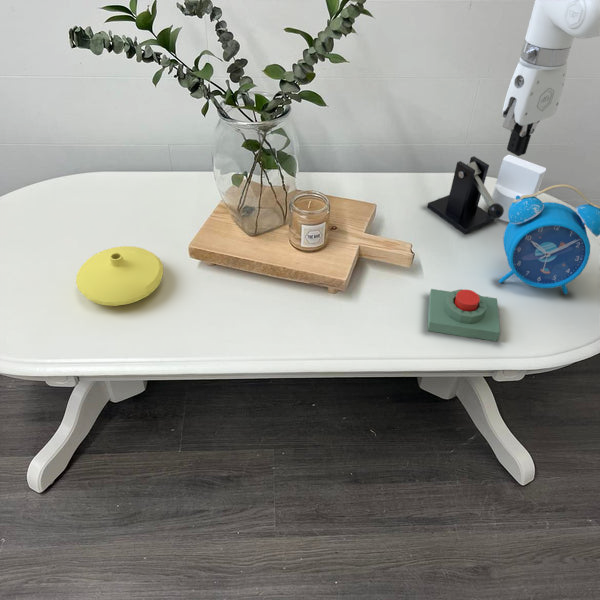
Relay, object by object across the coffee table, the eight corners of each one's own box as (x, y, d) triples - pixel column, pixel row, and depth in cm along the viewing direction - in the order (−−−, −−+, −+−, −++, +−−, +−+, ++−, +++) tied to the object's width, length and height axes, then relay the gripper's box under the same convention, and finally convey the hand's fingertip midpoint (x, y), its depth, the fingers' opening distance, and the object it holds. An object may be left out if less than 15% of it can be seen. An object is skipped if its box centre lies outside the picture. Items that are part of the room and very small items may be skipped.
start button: (477, 298, 103) (479, 291, 101) (477, 313, 100) (480, 306, 98) (454, 295, 103) (456, 287, 102) (454, 310, 100) (456, 302, 99)
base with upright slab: (536, 210, 130) (553, 163, 122) (518, 227, 125) (535, 179, 117) (500, 195, 134) (514, 149, 126) (481, 211, 129) (495, 164, 121)
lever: (500, 218, 121) (509, 211, 118) (489, 223, 120) (498, 216, 117) (469, 167, 123) (477, 159, 120) (458, 171, 122) (466, 163, 119)
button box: (494, 306, 106) (499, 291, 104) (496, 341, 100) (502, 325, 97) (428, 297, 108) (432, 281, 105) (427, 330, 101) (431, 314, 99)
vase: (72, 316, 102) (61, 287, 97) (87, 260, 113) (79, 231, 108) (162, 312, 103) (156, 283, 98) (168, 257, 114) (163, 228, 110)
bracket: (494, 221, 127) (509, 170, 118) (464, 234, 123) (478, 182, 114) (455, 196, 134) (468, 146, 125) (426, 207, 130) (437, 156, 121)
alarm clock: (489, 289, 110) (519, 201, 96) (489, 257, 117) (517, 170, 104) (581, 305, 107) (625, 216, 94) (575, 271, 114) (615, 184, 101)
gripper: (532, 68, 92) (503, 170, 104) (591, 52, 98) (557, 150, 110) (497, 54, 96) (473, 153, 109) (555, 39, 103) (526, 135, 115)
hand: (515, 152), depth 109 cm, fingers closed
